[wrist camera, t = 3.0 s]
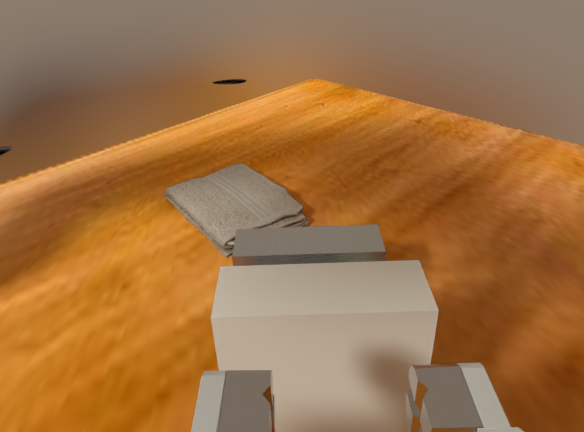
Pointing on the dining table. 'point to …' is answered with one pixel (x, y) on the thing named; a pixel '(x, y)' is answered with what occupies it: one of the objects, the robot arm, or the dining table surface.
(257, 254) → the base
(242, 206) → the washcloth
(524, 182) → the dining table surface
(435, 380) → the robot arm
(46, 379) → the dining table surface
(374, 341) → the upright white panel
